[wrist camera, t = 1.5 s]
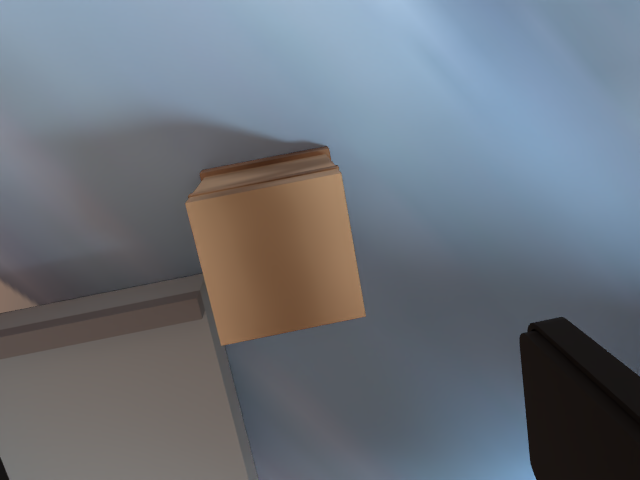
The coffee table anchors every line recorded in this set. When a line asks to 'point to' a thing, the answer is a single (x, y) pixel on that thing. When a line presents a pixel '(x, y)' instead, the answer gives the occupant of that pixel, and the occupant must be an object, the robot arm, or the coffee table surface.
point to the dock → (120, 389)
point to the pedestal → (275, 245)
